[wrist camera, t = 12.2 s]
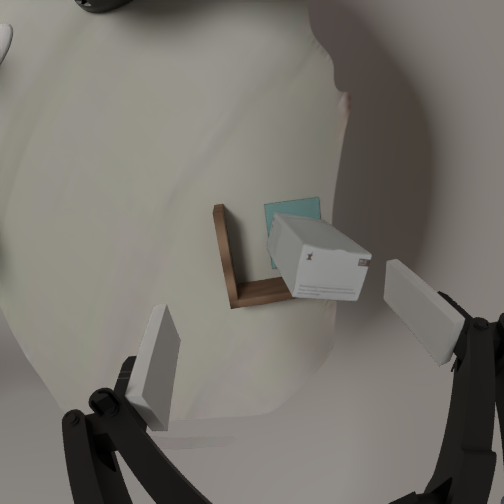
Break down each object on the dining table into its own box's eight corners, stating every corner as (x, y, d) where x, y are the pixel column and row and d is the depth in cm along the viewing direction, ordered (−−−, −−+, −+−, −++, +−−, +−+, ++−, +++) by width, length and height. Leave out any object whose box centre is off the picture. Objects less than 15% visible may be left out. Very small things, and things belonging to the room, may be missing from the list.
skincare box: (266, 248, 41) (286, 300, 27) (274, 208, 39) (300, 243, 25) (318, 255, 42) (357, 305, 29) (327, 218, 40) (375, 255, 27)
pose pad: (264, 204, 39) (264, 204, 39) (318, 197, 39) (318, 197, 39) (272, 267, 43) (272, 268, 43) (321, 259, 43) (322, 260, 43)
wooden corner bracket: (214, 205, 38) (212, 213, 34) (323, 190, 39) (336, 196, 34) (230, 291, 44) (231, 308, 39) (327, 275, 44) (338, 289, 40)
